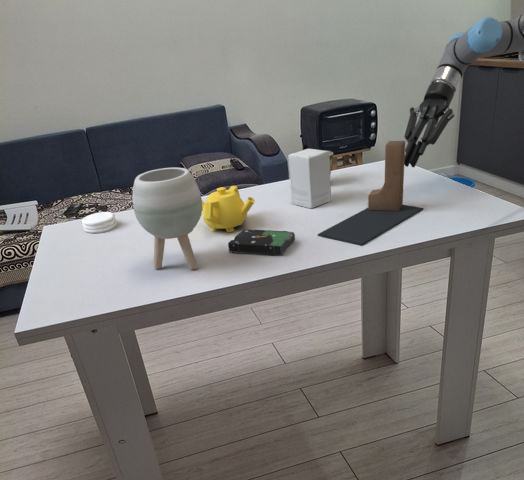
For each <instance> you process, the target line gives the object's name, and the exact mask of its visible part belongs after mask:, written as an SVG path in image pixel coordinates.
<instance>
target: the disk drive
mask: <svg viewBox="0 0 524 480" xmlns="http://www.w3.org/2000/svg"><path fill="white" fill-rule="evenodd" d="M295 241H296V234H295V232H294V231H288V230H270V229H252V228H249V229H248V228H244V229H242V230H241V231H240V232H239V233H238V234H236V235H235V236H234V238H233V239H231V240H230V241H228V243H227V246H228V252H231V253H237V254H238V253H240V254H257V255H258V254H259V255H270V256H282V255H283V254H285V252H286V251H287V250H288V249H289V248H290V247H291V245H292V244H293V243H294V242H295Z"/></svg>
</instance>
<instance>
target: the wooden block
mask: <svg viewBox="0 0 524 480" xmlns="http://www.w3.org/2000/svg"><path fill="white" fill-rule="evenodd" d="M384 147H385V150H384V182H383V186H382V187H381V188H379V189H372V190H371V191H370V192H369V193H368V196H367V197H368V198H367V208H368V209H369V210H383V211H400V209H401V207H402V206H403V205H404V204H403V203H404V181H405V164H404V160H405V154H406V152H405V149H406V141H405V140H388V142H387V143H386V144H385V146H384Z"/></svg>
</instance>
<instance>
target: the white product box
mask: <svg viewBox="0 0 524 480" xmlns="http://www.w3.org/2000/svg"><path fill="white" fill-rule="evenodd" d="M329 151H330V150H325V151H323V149H314V148H305V149H302V150H299V151H296V152H293V153H290V154H288V167H289V168H288V169H289V180H290V194H291V204H292V205H295V206H299V207H304V208H308V209H313V208H317V207H319V206H321V205H324V204H326V203H330V202H332V188H331V187H332V186H331V185H332V184H331V175H330V153H329Z"/></svg>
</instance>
